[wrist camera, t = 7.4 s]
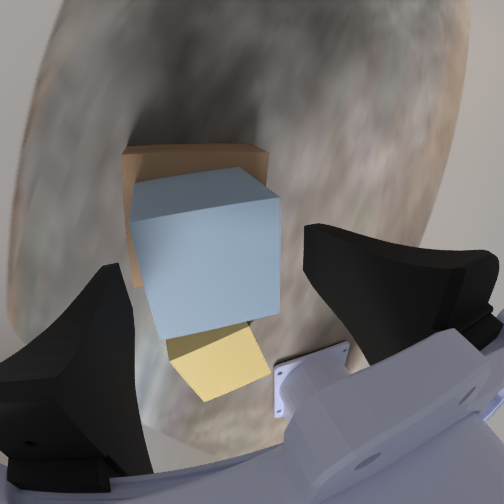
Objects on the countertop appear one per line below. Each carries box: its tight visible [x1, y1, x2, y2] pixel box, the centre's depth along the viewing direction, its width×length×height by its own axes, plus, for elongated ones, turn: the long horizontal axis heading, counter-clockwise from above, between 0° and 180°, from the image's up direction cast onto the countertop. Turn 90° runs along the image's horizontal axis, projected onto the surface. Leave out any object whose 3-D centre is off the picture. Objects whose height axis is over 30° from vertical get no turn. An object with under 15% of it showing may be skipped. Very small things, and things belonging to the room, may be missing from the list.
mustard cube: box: [166, 322, 271, 402], centre depth 20 cm, size 5×5×5 cm
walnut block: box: [122, 143, 269, 288], centre depth 17 cm, size 7×7×4 cm
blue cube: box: [129, 167, 280, 340], centre depth 13 cm, size 5×5×5 cm
